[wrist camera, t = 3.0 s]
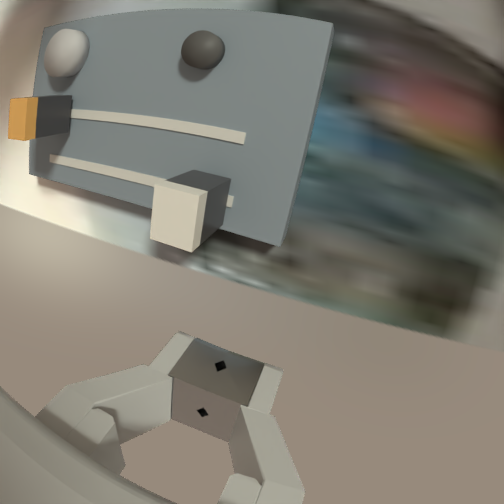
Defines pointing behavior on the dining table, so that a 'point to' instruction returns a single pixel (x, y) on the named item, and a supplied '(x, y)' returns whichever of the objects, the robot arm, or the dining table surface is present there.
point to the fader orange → (39, 116)
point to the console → (186, 106)
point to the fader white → (188, 208)
